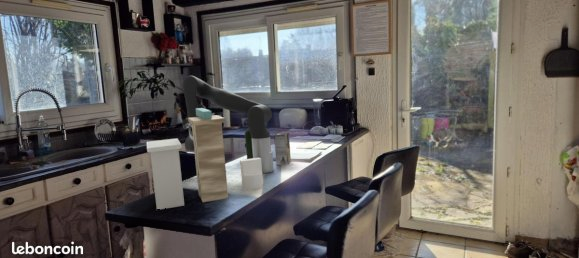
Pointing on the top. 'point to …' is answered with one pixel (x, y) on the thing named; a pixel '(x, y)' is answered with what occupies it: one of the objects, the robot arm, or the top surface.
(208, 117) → the teal bar
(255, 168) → the cylinder with rectangular tab
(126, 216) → the top surface
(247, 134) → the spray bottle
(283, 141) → the coffee box
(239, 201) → the top surface
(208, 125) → the birch stand
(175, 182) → the white pedestal
